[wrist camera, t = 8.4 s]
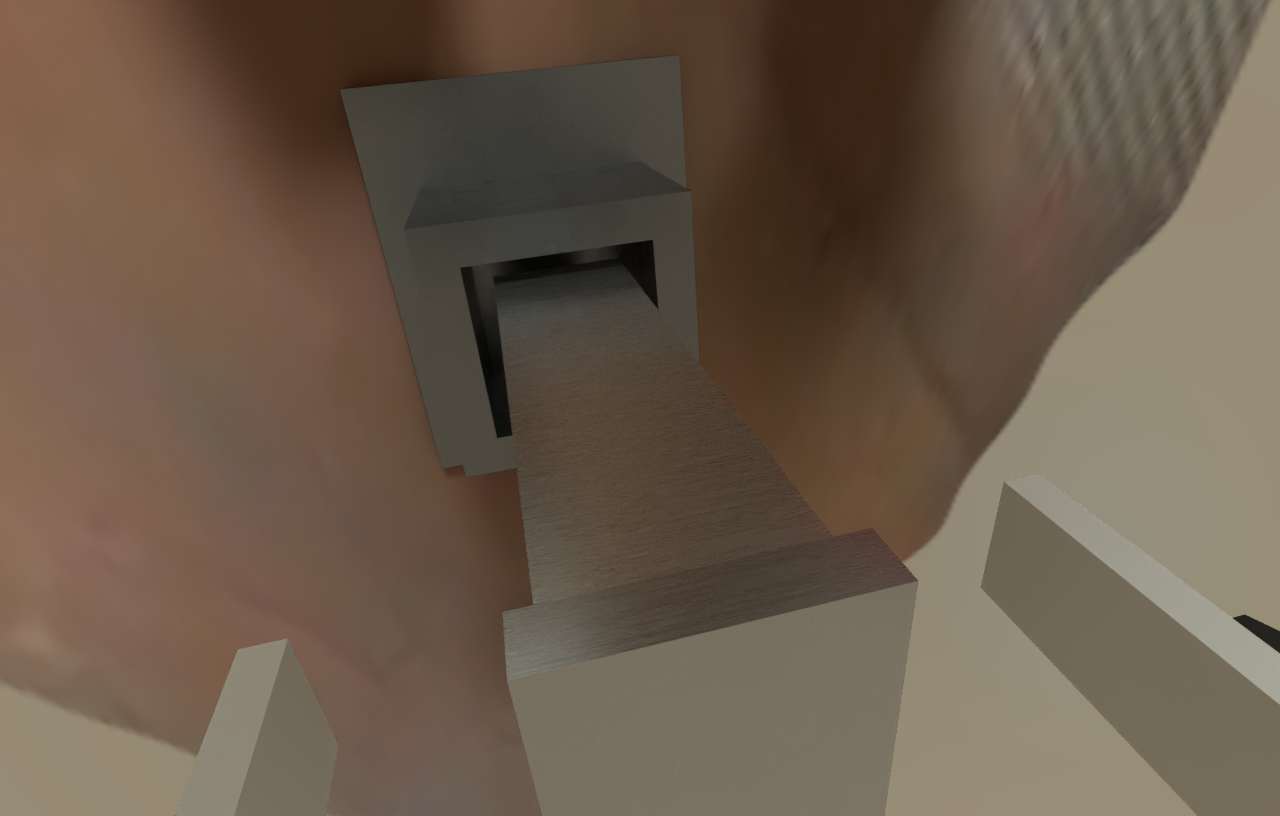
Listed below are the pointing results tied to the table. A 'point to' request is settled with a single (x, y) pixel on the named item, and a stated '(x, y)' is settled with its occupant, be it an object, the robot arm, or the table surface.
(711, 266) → the table surface
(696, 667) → the column
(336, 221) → the table surface
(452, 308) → the stand base
